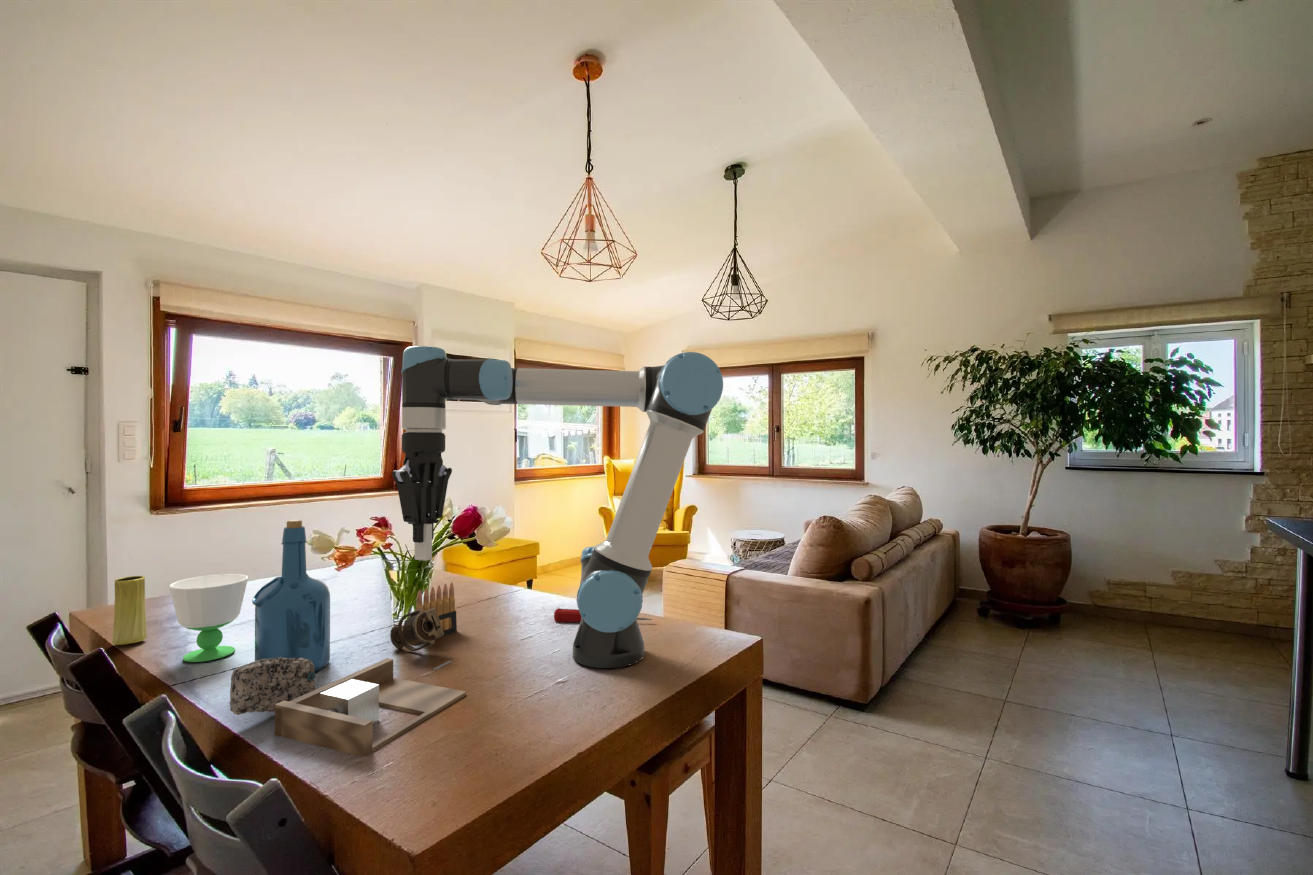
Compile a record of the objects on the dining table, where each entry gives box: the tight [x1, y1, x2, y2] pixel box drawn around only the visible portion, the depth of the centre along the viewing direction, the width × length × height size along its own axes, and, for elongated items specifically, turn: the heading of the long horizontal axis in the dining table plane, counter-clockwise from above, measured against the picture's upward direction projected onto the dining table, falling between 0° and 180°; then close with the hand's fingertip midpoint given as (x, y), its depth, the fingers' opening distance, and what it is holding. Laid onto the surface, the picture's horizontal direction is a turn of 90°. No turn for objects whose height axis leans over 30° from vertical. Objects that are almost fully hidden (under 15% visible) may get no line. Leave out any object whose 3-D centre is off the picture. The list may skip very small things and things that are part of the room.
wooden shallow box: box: [274, 657, 467, 758], centre depth 100 cm, size 18×22×5 cm
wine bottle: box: [251, 519, 331, 672], centre depth 120 cm, size 14×13×30 cm
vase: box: [111, 575, 148, 646], centre depth 136 cm, size 6×6×14 cm
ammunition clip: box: [415, 581, 458, 638], centre depth 140 cm, size 11×2×12 cm, turn 147°
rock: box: [229, 657, 316, 716], centre depth 100 cm, size 13×9×4 cm
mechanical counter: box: [389, 608, 444, 652], centre depth 128 cm, size 7×13×10 cm, turn 78°
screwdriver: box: [553, 607, 653, 623], centre depth 150 cm, size 4×25×4 cm, turn 83°
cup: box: [168, 573, 249, 663], centre depth 128 cm, size 14×14×16 cm
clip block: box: [320, 679, 380, 724], centre depth 95 cm, size 6×6×8 cm
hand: (423, 559), depth 110 cm, fingers closed
